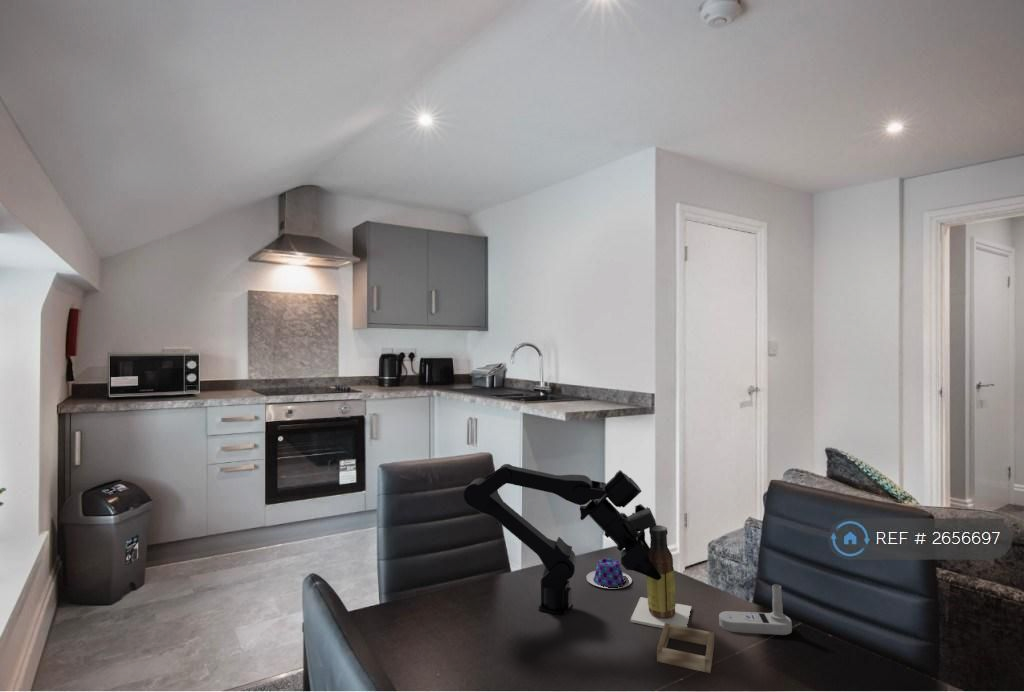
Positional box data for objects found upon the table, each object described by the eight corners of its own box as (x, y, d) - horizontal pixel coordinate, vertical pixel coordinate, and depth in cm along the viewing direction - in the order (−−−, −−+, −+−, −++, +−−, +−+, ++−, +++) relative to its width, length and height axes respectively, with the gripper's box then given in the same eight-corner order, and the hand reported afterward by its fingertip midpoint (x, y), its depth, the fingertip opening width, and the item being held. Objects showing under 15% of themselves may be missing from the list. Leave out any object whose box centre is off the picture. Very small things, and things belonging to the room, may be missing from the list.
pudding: (583, 572, 153) (583, 553, 153) (626, 572, 153) (626, 553, 153) (590, 591, 141) (590, 571, 141) (636, 591, 141) (636, 570, 141)
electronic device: (715, 578, 126) (786, 581, 123) (717, 621, 126) (787, 625, 123) (720, 589, 121) (793, 592, 118) (721, 633, 121) (795, 637, 118)
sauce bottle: (670, 606, 131) (669, 522, 131) (679, 619, 125) (678, 531, 125) (643, 607, 130) (642, 523, 130) (651, 620, 124) (650, 532, 124)
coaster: (630, 622, 125) (630, 619, 125) (640, 599, 136) (640, 597, 136) (685, 632, 120) (685, 630, 120) (691, 608, 131) (691, 606, 131)
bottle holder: (656, 661, 109) (656, 648, 109) (665, 634, 119) (665, 623, 119) (710, 673, 105) (710, 660, 105) (714, 644, 115) (714, 632, 115)
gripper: (637, 509, 120) (689, 563, 118) (633, 487, 138) (678, 534, 136) (600, 542, 121) (651, 597, 119) (601, 516, 139) (645, 563, 137)
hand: (658, 570), depth 128 cm, fingers open, 9 cm apart
